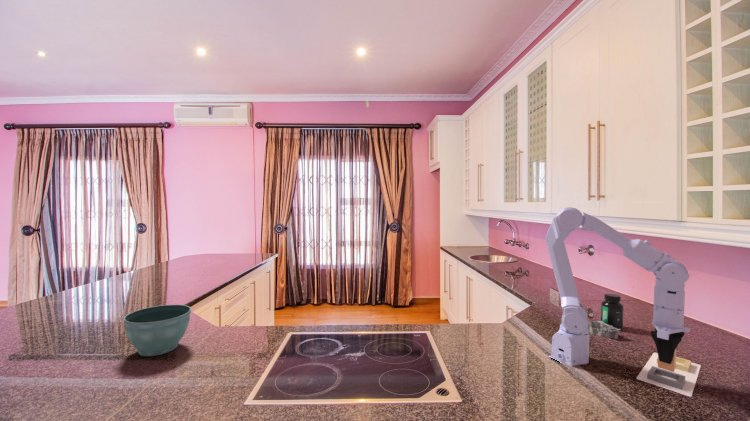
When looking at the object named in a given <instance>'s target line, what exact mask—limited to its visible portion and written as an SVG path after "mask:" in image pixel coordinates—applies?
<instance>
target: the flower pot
mask: <svg viewBox="0 0 750 421" xmlns="http://www.w3.org/2000/svg"><path fill="white" fill-rule="evenodd" d="M191 311H192V307H191V306H189V305H185V304H163V305H156V306H150V307H145V308H140V309H138V310H134V311H131V312H130V313H128V314H126V315H125V316H124V317H123V324H124V326H125V327H124V328H125V333H126V337H127V339H128V341H129V342H130V344H131V345H132V346H133V348H135V349H136V350H137V354H138V355H140V356H141V357H155V356H160V355H163V354H168V353H170V352H172V351H174V350H176V349H177V347H178V345H179V342H180V340H182V338H183V337H184V336H185V333H186V332H187V329H188V326H189V324H190V317H191Z"/></svg>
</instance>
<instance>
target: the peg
mask: <svg viewBox="0 0 750 421" xmlns="http://www.w3.org/2000/svg"><path fill="white" fill-rule="evenodd" d="M676 357H677V349H675V352H674V356H673V360H672V362H671V364H668V363H665V362H661V361H660V360H659V357H658V367H659V368H662V369H665V370H669V371H672V372H674V371H675V368H676Z"/></svg>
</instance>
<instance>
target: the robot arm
mask: <svg viewBox="0 0 750 421" xmlns="http://www.w3.org/2000/svg"><path fill="white" fill-rule="evenodd" d="M580 227H581V230H582V231H589V232H593V233H594V232H595V233H596V234H598V235H599V236H601V237H603V238H604V239H606V240H607V241H609V242H611V243H613V244H614V245H616V246H618V247H619V248H621V249H622V251H623V256H624V257H625V258H627V259H629V261H630V260H631V261H632V262H633V263H635V264H636V265H638V266H639V267H641V268H643V269H644V270H646V271H648V272H652V274H653V275H654V276H655V281H654V282H655V285H654V288H653V307H652V308H653V309H652V310H653V314H652V320H651V325H652V326H653V327H654V330H651V331H650V337H651V338H652V339H653V341H654V343H655V346H656V351H657V352H656V353H658V357H659V360H660V361H661V362H665V363H668V364H671V362H672V360H673V356H674V352H675V349H676V350H677V349H678V346H679V344H680V343H681V342H682V340H683V339H682V338H683V337H684V336H685V332H686V333H690V332H691V327H687V326H684V325H685V323H684V321H685V297H686V291H685V287H686V285H685V283H686V282H687V281H688V280H689V278H690V274H689V271H688V269H687V267H686V266H685V265H684V264H682V263H681V262H679V261H677V260H675V258H671V257H672V255H671V254H669V253H668V252H665V253H664V252H662V251H661V250H659V249H657V248H655V247H654V246H653V245H652V242H651V241H648V240H643V239H640V238H637V239H630V238H629V237H627V236H626V235H624V234H622V233H621V232H620V231H618V230H617V229H614V228H613V227H612V226H611V225H608V224H607V222H604V221H602V220H601V219H599V218H598V217H595V216H594V215H590V214H588V213H586V212H584V211H583V212H581V211H580V210H579V209H577V208H575V207H571V206H569V207H564V208H563V209H562V208H561V210H559V211H558V213H557V214H555V216H554V217H553V218H552V221H551V223H550V226H549V227H548V230H547V232H546V235H545V239H544V240H545V243H546V247H547V251H548V255H549V258H550V263H551V266H552V270H553V274H554V277H555V281H556V286H557V289H558V294H559V297H560V302H561V303H560V304H561V308H562V309H561V310H562V315H561V323H560V325H559V329H558V331H557V332H555V333H554V334H553V335H552V338H551V355H548V358H549V357H551V358H553V359H555V360H557V361H559V362H560V363H559V362H558V363H559V364H561V363H562V364H565V365H567V366H569V367H575V366H578V365H587V364H589V359H590V358H589V357H590V334H591V333H590V331H589V329H587V328H588V323H589V320H588V319H589V318H588V317H589V316H588V314H589V313H588V311H587V309H586V308H585V307H584V306H583V304H582V302H581V299H580V296H579V293H578V288H577V285H576V282H575V277H574V274H573V271H572V266H571V263H570V259H569V256H568V251H567V248H566V245H565V240H566V239H567V238H568V237H569V235H570V234H571V233H572V232H574V231H576V230H577V229H578V228H580ZM551 358H550V359H551ZM553 359H552V360H553ZM555 360H554V361H555ZM557 361H556V362H557Z"/></svg>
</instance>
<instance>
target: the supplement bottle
mask: <svg viewBox="0 0 750 421" xmlns="http://www.w3.org/2000/svg"><path fill="white" fill-rule="evenodd" d="M621 301H622V299H621V295H619V294H615V293H604V300H603V301H601V303H600V321H603V322H604V323H605V324H608V325H610V326H613V327H615V328H617V329H620V330H619V331H622V330H623V329H624V314H625V312H624V311H625V306H624V305H623V303H621Z"/></svg>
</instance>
